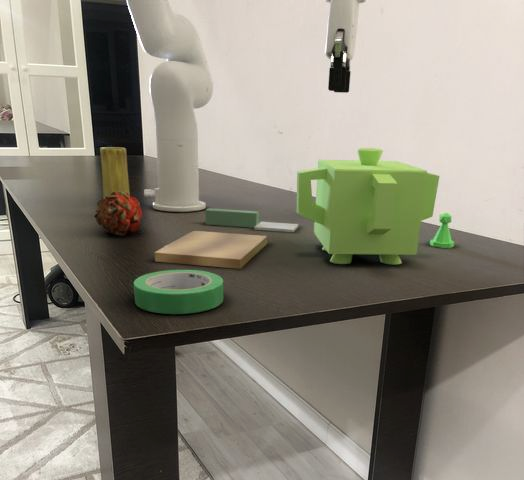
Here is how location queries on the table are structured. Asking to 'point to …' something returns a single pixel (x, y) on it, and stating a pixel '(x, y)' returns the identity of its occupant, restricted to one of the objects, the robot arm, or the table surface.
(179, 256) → the cutting board
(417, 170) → the green handled cubic container
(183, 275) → the tape roll
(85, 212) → the table surface
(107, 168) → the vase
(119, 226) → the dragon fruit
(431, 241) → the game piece
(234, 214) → the spatula
